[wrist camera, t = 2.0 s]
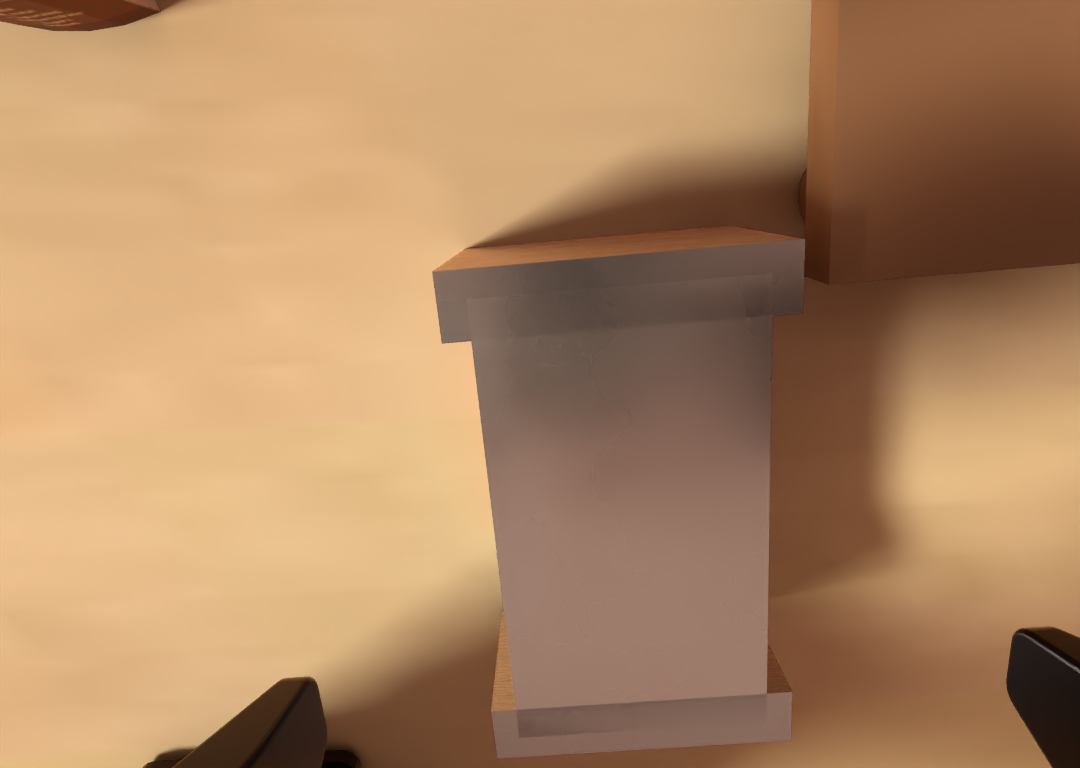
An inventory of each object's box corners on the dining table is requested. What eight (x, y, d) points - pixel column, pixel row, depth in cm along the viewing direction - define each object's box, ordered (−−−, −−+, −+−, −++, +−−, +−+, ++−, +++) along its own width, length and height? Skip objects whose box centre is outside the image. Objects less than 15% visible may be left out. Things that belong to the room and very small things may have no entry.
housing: (730, 605, 17) (791, 740, 13) (509, 620, 18) (497, 758, 13) (728, 225, 15) (805, 238, 10) (465, 248, 15) (432, 272, 10)
